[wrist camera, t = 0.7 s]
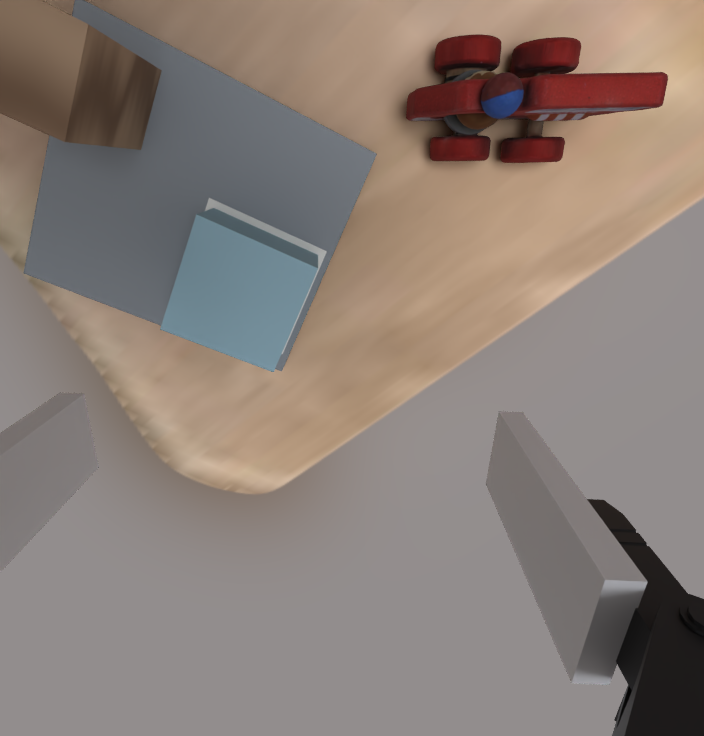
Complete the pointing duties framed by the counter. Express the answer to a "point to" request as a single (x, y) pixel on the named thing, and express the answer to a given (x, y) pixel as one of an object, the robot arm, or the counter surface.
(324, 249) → the slate board
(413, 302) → the counter surface
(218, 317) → the teal block
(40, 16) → the walnut block
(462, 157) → the toy fire truck
